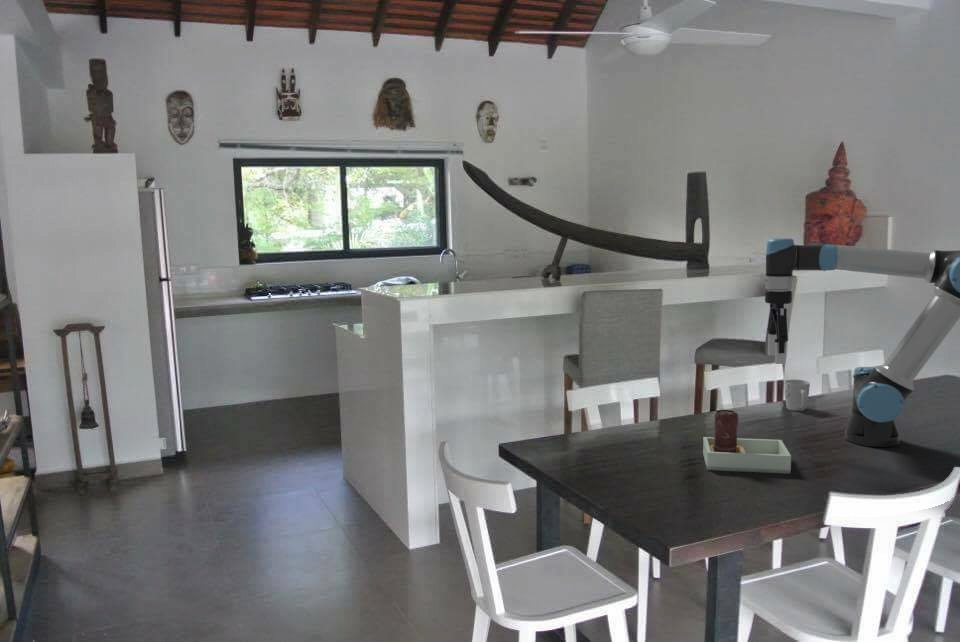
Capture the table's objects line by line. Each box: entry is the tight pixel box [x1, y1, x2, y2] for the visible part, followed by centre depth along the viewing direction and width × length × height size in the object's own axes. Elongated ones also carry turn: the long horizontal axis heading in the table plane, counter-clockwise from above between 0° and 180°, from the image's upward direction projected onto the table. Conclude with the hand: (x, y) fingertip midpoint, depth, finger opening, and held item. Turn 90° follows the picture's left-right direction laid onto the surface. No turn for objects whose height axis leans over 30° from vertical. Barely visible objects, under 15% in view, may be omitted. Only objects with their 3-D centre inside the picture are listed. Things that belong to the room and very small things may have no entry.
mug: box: [783, 379, 811, 412], centre depth 269 cm, size 11×8×10 cm
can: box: [714, 409, 739, 453], centre depth 214 cm, size 6×6×14 cm
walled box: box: [702, 436, 792, 475], centre depth 214 cm, size 22×15×5 cm
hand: (776, 359), depth 227 cm, fingers open, 13 cm apart
